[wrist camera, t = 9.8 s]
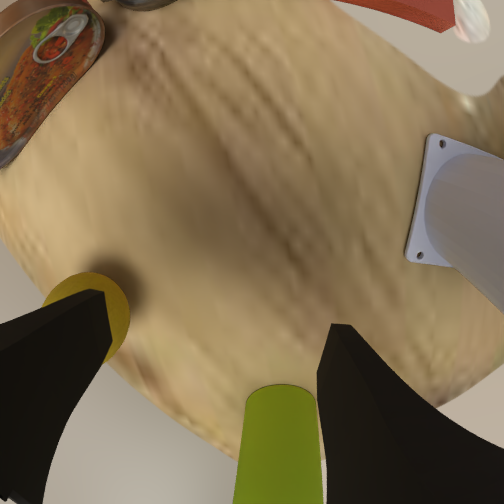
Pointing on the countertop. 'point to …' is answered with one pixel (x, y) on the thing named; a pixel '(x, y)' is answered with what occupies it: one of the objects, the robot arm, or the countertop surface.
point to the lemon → (114, 303)
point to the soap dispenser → (279, 449)
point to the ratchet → (394, 3)
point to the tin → (41, 62)
